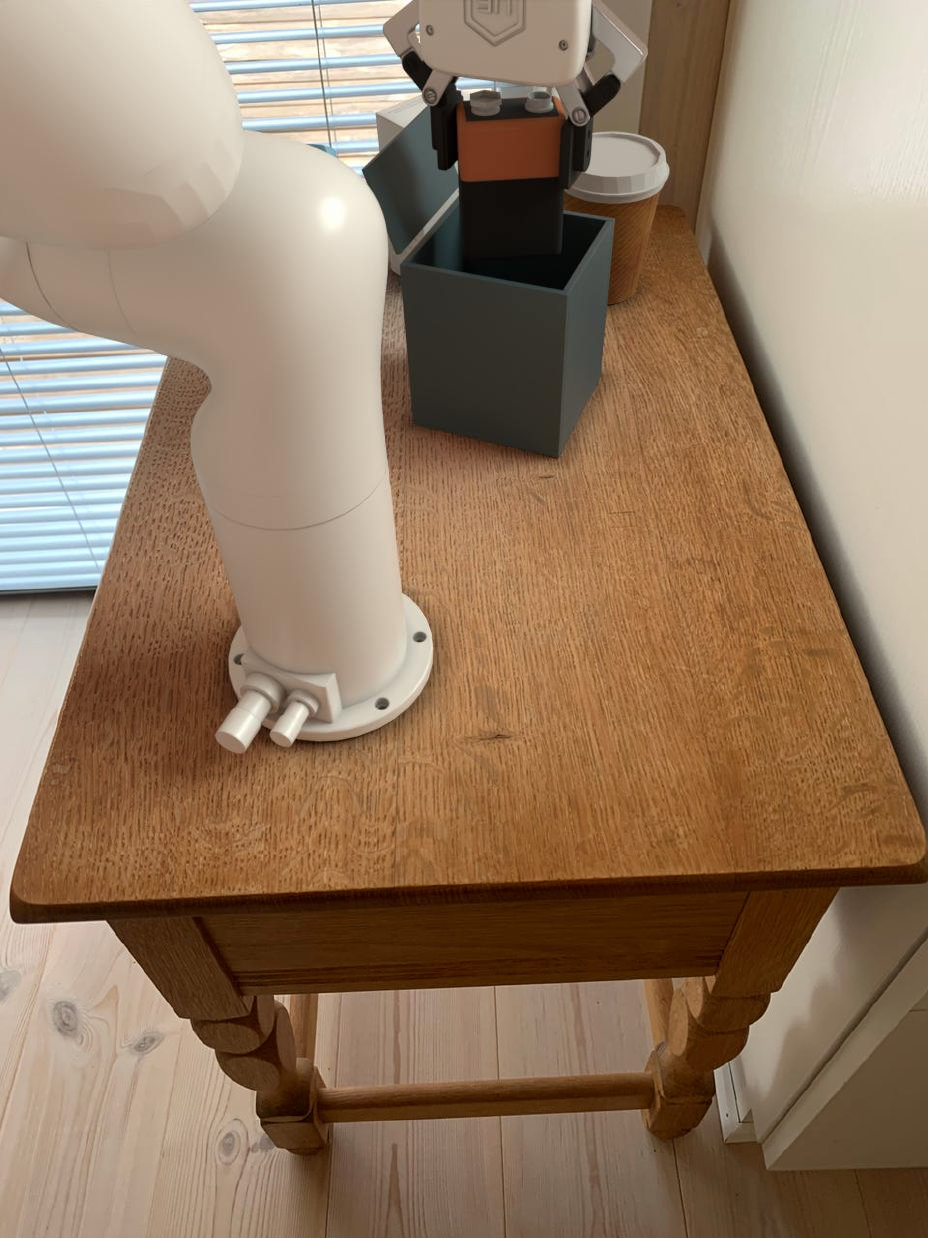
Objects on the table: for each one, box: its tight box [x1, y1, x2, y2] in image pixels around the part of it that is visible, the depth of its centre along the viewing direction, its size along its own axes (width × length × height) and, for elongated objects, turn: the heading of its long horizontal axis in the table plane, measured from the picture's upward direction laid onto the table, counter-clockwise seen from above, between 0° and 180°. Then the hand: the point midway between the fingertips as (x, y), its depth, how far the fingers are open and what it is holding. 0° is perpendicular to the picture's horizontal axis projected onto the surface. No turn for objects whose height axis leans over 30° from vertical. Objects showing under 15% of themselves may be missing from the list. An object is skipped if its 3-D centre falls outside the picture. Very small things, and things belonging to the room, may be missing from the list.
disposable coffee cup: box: [563, 131, 670, 305], centre depth 85 cm, size 10×10×12 cm
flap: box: [361, 105, 459, 255], centre depth 68 cm, size 6×11×1 cm
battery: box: [456, 89, 567, 261], centre depth 65 cm, size 4×7×10 cm, turn 94°
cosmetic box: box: [375, 86, 470, 277], centre depth 87 cm, size 8×6×15 cm
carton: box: [400, 196, 615, 459], centre depth 74 cm, size 12×11×14 cm
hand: (510, 169), depth 65 cm, fingers closed on battery, 7 cm apart
